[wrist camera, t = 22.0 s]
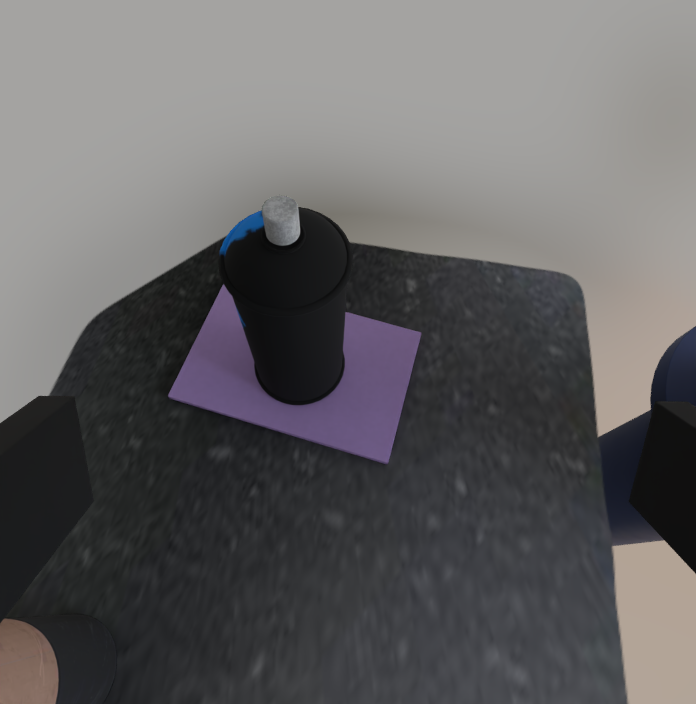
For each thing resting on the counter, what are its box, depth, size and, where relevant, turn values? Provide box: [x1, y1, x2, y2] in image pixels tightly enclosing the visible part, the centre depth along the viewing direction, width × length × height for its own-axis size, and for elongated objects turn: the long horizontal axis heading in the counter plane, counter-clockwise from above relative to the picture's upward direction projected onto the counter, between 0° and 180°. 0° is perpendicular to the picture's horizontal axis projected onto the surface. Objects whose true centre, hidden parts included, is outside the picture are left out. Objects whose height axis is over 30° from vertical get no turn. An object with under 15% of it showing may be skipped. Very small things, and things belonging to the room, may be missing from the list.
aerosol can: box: [219, 196, 353, 405], centre depth 34 cm, size 8×8×20 cm
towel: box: [168, 284, 421, 464], centre depth 43 cm, size 20×13×1 cm, turn 74°
